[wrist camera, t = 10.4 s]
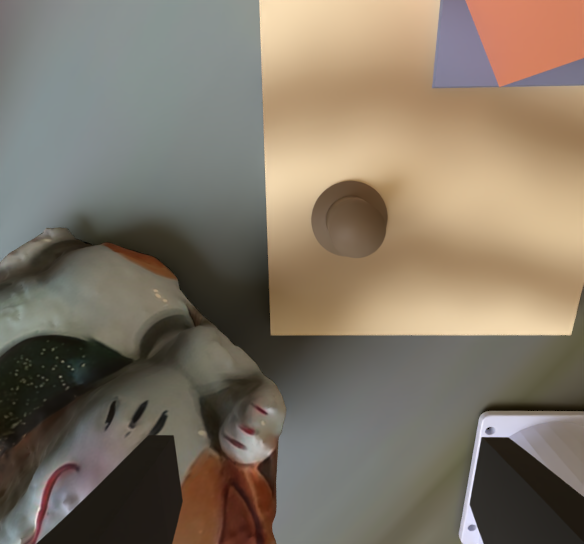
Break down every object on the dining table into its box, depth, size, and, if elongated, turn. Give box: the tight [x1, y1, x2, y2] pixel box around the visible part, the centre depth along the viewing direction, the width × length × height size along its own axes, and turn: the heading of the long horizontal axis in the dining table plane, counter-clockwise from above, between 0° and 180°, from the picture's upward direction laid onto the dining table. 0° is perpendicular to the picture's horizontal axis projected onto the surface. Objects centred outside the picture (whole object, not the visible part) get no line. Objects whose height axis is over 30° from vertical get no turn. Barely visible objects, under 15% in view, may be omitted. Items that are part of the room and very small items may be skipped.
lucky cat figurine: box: [0, 228, 286, 544], centre depth 14 cm, size 15×12×14 cm
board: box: [259, 0, 584, 335], centre depth 13 cm, size 19×14×4 cm
